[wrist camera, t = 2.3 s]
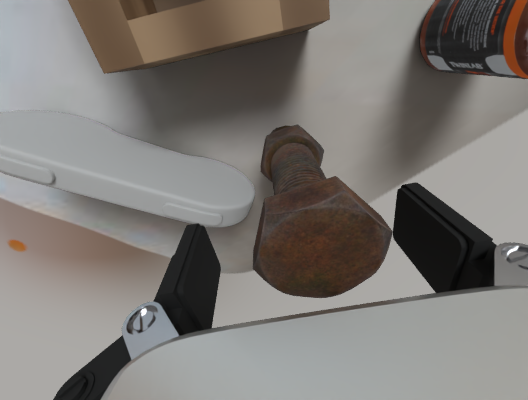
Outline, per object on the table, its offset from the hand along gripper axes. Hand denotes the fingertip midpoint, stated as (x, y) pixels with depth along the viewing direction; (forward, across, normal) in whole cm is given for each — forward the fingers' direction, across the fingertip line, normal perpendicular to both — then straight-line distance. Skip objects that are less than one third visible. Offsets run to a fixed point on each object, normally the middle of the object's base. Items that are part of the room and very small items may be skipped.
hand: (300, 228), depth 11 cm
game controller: (+13, +11, -2) cm, 18 cm away
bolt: (+13, -1, 0) cm, 13 cm away
